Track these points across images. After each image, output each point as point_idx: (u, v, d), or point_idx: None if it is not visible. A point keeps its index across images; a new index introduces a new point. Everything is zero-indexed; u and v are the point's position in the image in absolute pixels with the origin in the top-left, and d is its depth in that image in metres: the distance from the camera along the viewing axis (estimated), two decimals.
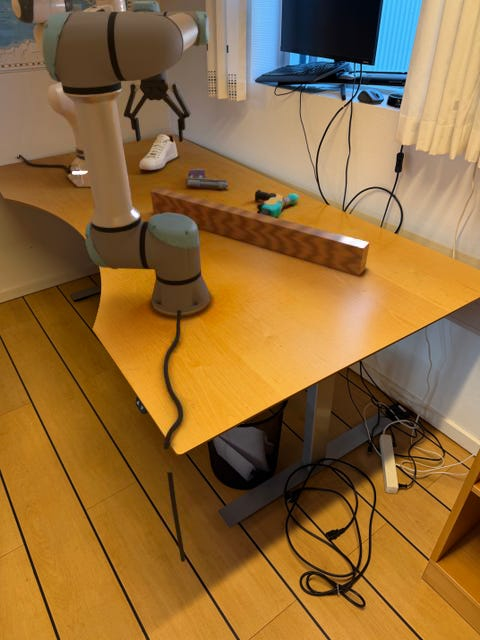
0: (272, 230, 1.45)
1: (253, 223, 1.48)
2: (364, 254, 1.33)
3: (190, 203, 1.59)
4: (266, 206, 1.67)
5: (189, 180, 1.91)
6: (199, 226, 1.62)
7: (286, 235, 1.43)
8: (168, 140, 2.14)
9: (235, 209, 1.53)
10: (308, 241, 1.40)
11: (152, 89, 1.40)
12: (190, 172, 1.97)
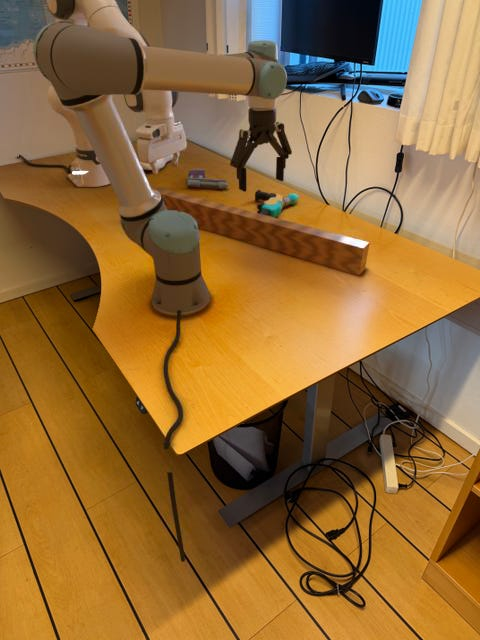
0: (272, 230, 1.45)
1: (253, 223, 1.48)
2: (364, 254, 1.33)
3: (190, 203, 1.59)
4: (266, 206, 1.67)
5: (189, 180, 1.91)
6: (199, 226, 1.62)
7: (286, 235, 1.43)
8: None
9: (235, 209, 1.53)
10: (308, 241, 1.40)
11: (263, 133, 1.30)
12: (190, 172, 1.97)
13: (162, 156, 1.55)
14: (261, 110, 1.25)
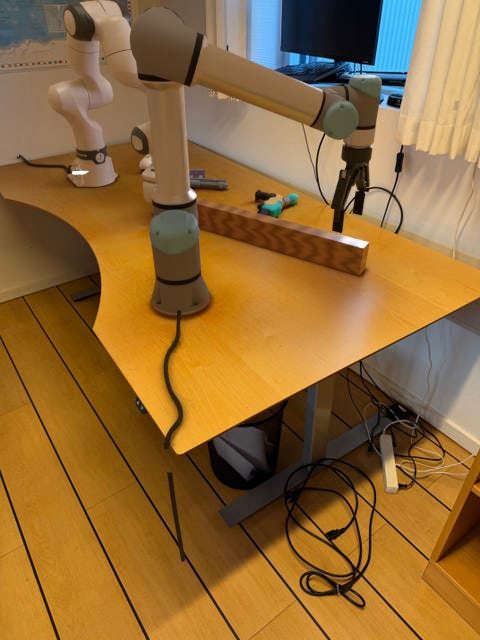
0: (272, 230, 1.45)
1: (253, 223, 1.48)
2: (364, 254, 1.33)
3: None
4: (266, 206, 1.67)
5: None
6: (199, 226, 1.62)
7: (286, 235, 1.43)
8: None
9: (235, 209, 1.53)
10: (308, 241, 1.40)
11: (358, 170, 1.22)
12: (190, 172, 1.97)
13: None
14: (363, 147, 1.17)
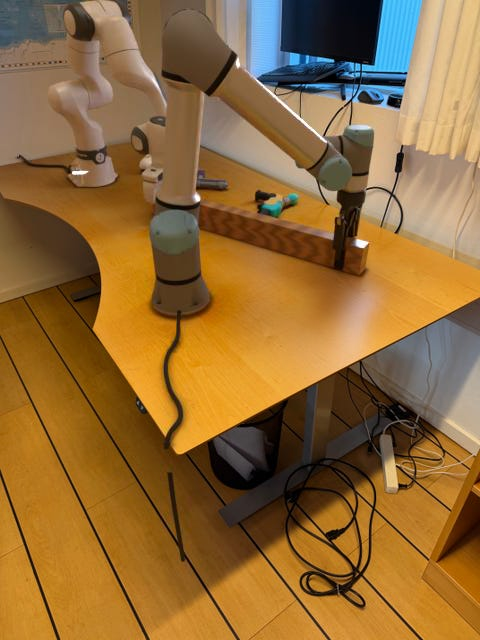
0: (272, 230, 1.45)
1: (253, 223, 1.48)
2: (364, 254, 1.33)
3: None
4: (266, 206, 1.67)
5: None
6: (199, 226, 1.62)
7: (286, 235, 1.43)
8: None
9: (235, 209, 1.53)
10: (308, 241, 1.40)
11: (352, 210, 1.28)
12: None
13: None
14: (357, 192, 1.23)
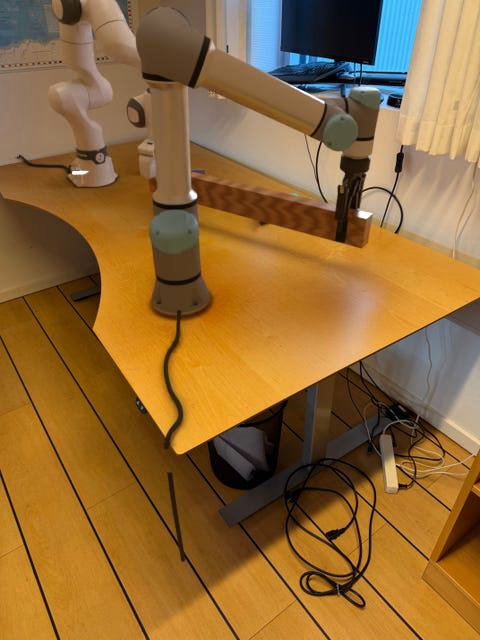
0: (271, 203, 1.40)
1: (252, 196, 1.43)
2: (367, 225, 1.28)
3: None
4: None
5: None
6: (197, 202, 1.57)
7: (286, 208, 1.38)
8: None
9: (233, 183, 1.48)
10: (309, 213, 1.34)
11: (356, 178, 1.23)
12: None
13: None
14: (361, 158, 1.18)
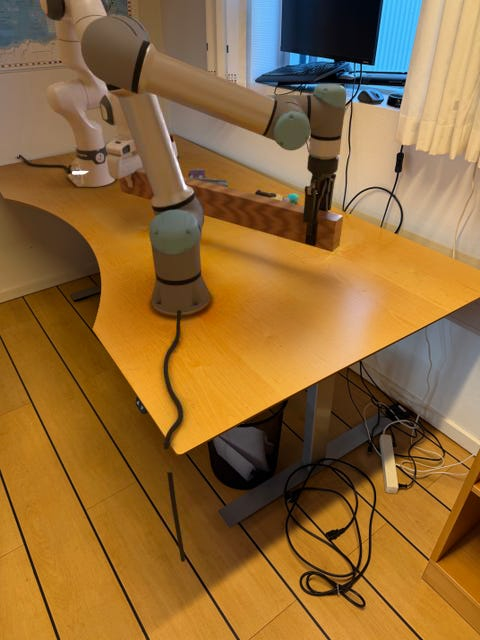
0: (241, 204, 1.36)
1: (222, 197, 1.39)
2: (337, 228, 1.23)
3: None
4: None
5: None
6: None
7: (256, 210, 1.34)
8: None
9: (204, 183, 1.44)
10: (279, 215, 1.30)
11: (324, 179, 1.19)
12: (190, 172, 1.97)
13: (133, 171, 1.54)
14: (328, 158, 1.14)
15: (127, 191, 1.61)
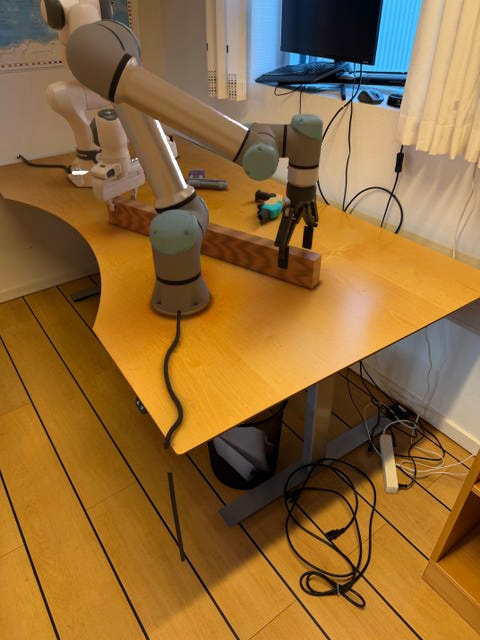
0: (224, 240, 1.40)
1: (206, 233, 1.43)
2: (315, 267, 1.27)
3: (144, 211, 1.53)
4: (266, 206, 1.67)
5: (189, 180, 1.91)
6: None
7: (238, 246, 1.38)
8: (168, 140, 2.14)
9: None
10: (260, 253, 1.34)
11: None
12: (190, 172, 1.97)
13: (118, 193, 1.55)
14: (306, 186, 1.15)
15: (115, 223, 1.65)
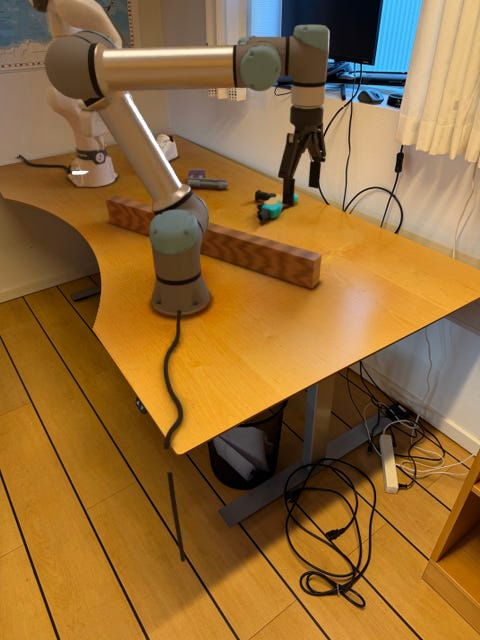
0: (224, 240, 1.40)
1: (206, 233, 1.43)
2: (315, 267, 1.27)
3: (144, 211, 1.53)
4: (266, 206, 1.67)
5: (189, 180, 1.91)
6: None
7: (238, 246, 1.38)
8: (168, 140, 2.14)
9: None
10: (260, 253, 1.34)
11: None
12: (190, 172, 1.97)
13: None
14: (312, 108, 1.05)
15: (115, 223, 1.65)
